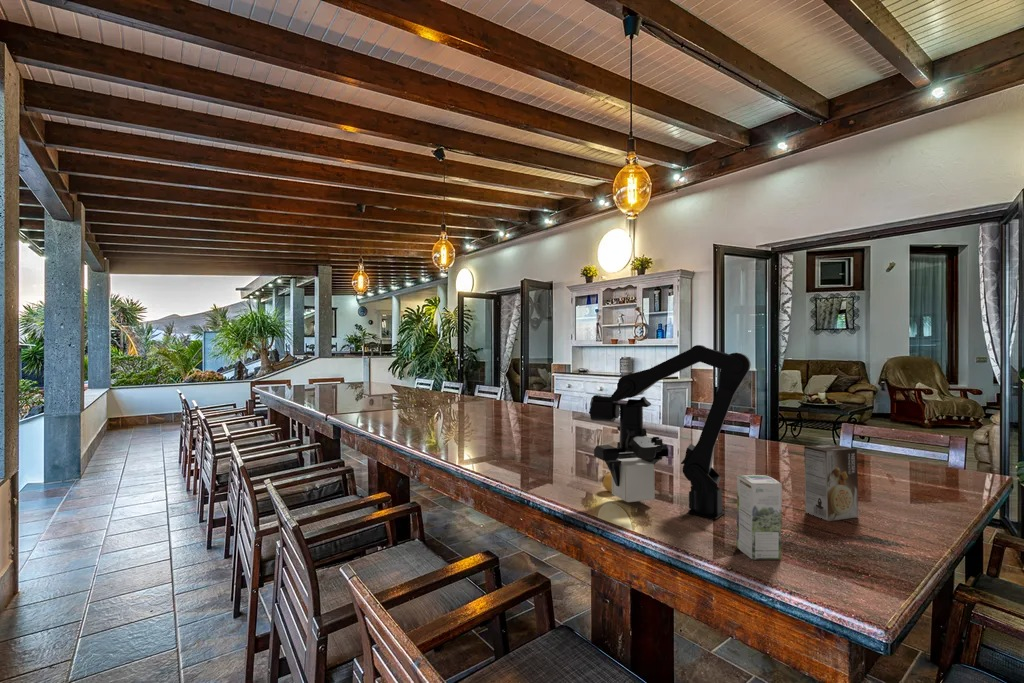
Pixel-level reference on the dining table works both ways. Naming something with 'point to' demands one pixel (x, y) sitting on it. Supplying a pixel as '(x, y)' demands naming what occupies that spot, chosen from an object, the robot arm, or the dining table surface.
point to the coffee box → (831, 482)
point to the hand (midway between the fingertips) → (631, 484)
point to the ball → (608, 482)
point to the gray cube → (635, 480)
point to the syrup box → (759, 516)
